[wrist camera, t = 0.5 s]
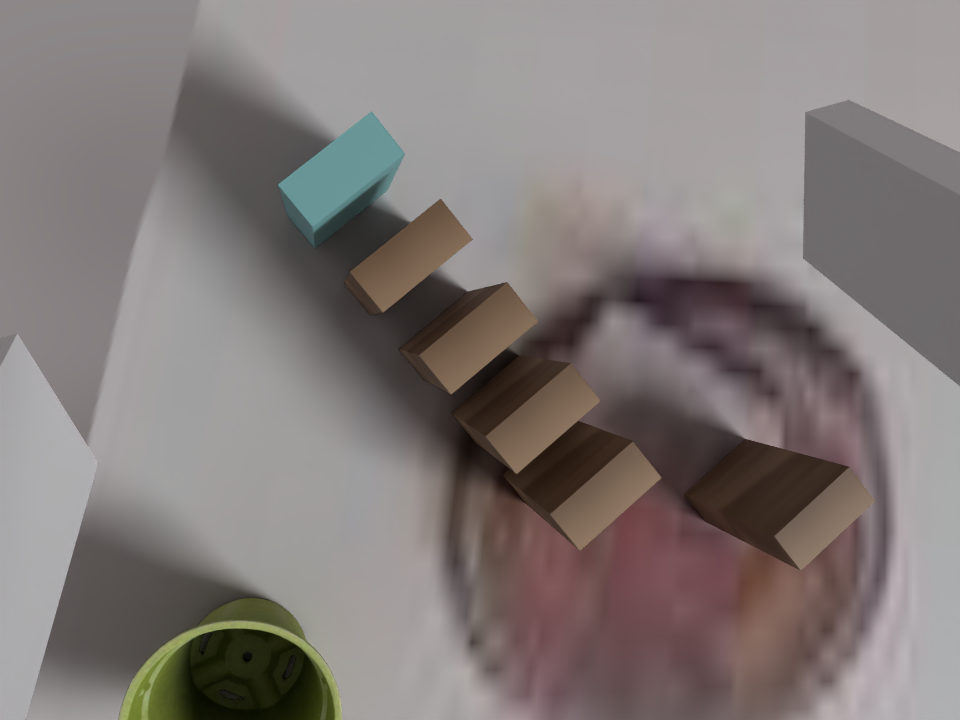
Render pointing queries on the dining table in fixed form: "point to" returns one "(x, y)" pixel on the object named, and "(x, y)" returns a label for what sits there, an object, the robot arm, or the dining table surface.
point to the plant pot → (235, 671)
